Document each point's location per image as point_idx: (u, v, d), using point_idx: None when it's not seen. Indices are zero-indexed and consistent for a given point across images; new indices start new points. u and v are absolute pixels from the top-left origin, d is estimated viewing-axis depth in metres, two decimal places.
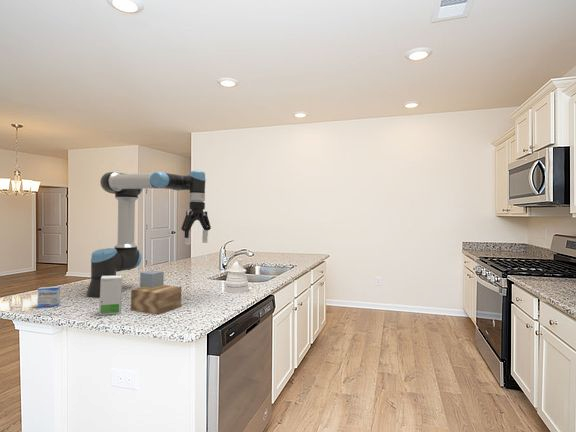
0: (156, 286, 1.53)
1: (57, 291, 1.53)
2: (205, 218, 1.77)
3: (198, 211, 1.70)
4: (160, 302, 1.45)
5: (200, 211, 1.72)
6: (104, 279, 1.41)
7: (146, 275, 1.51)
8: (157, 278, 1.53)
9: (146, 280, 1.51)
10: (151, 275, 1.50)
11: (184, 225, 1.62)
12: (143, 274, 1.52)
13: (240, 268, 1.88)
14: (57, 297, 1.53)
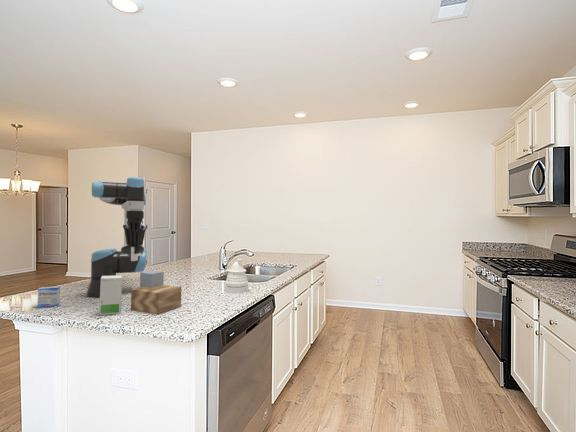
0: (156, 286, 1.53)
1: (57, 291, 1.53)
2: None
3: (132, 220, 1.58)
4: (160, 302, 1.45)
5: (135, 220, 1.57)
6: (104, 279, 1.42)
7: (146, 275, 1.51)
8: (157, 278, 1.53)
9: (146, 280, 1.51)
10: (151, 275, 1.50)
11: None
12: (143, 274, 1.52)
13: (240, 268, 1.88)
14: (57, 297, 1.53)
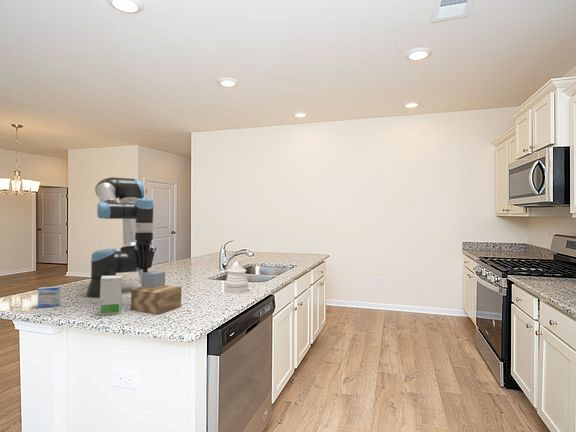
0: (158, 286, 1.52)
1: (57, 291, 1.53)
2: None
3: (141, 242, 1.56)
4: (160, 302, 1.45)
5: (144, 242, 1.55)
6: (104, 279, 1.41)
7: (148, 275, 1.51)
8: (159, 278, 1.53)
9: (148, 280, 1.51)
10: (153, 275, 1.50)
11: None
12: (145, 274, 1.52)
13: (240, 268, 1.88)
14: (57, 297, 1.53)
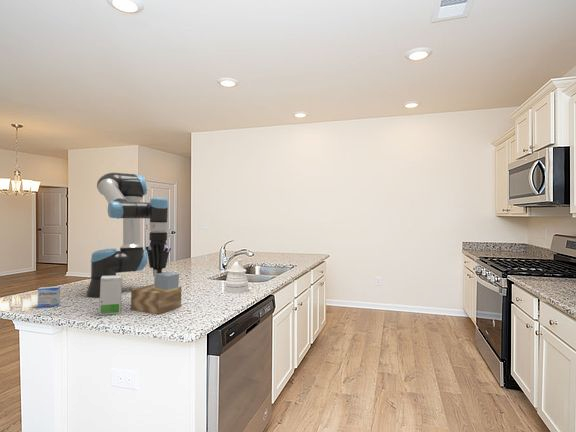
0: (171, 288, 1.49)
1: (57, 291, 1.53)
2: None
3: (155, 242, 1.52)
4: (160, 302, 1.45)
5: (158, 242, 1.52)
6: (104, 279, 1.41)
7: (162, 277, 1.48)
8: (172, 280, 1.49)
9: (161, 282, 1.48)
10: (167, 277, 1.47)
11: None
12: (158, 275, 1.48)
13: (240, 268, 1.88)
14: (57, 297, 1.53)
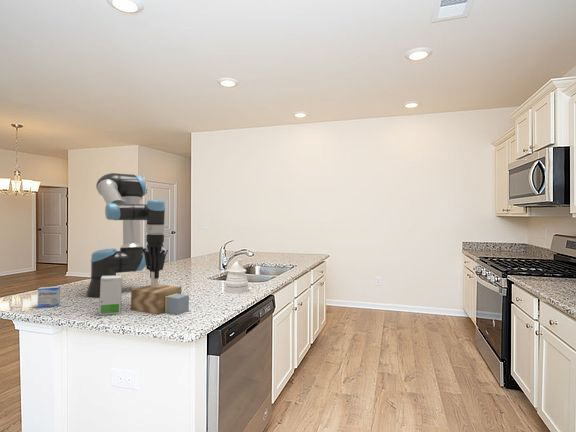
0: None
1: (57, 291, 1.53)
2: None
3: (152, 244, 1.53)
4: (160, 302, 1.45)
5: (155, 245, 1.53)
6: (104, 279, 1.41)
7: (176, 306, 1.44)
8: None
9: (172, 306, 1.45)
10: (176, 313, 1.44)
11: None
12: (176, 302, 1.44)
13: (240, 268, 1.88)
14: (57, 297, 1.53)
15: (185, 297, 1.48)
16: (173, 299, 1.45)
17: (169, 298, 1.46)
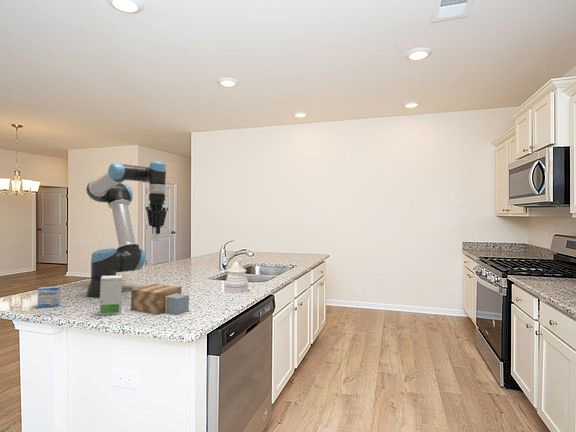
0: None
1: (57, 291, 1.53)
2: None
3: (154, 203, 1.68)
4: (160, 302, 1.45)
5: (157, 203, 1.67)
6: (104, 279, 1.41)
7: (176, 306, 1.44)
8: None
9: (172, 306, 1.45)
10: (176, 313, 1.44)
11: None
12: (176, 302, 1.44)
13: (240, 268, 1.88)
14: (57, 297, 1.53)
15: (185, 297, 1.48)
16: (173, 299, 1.45)
17: (169, 298, 1.46)
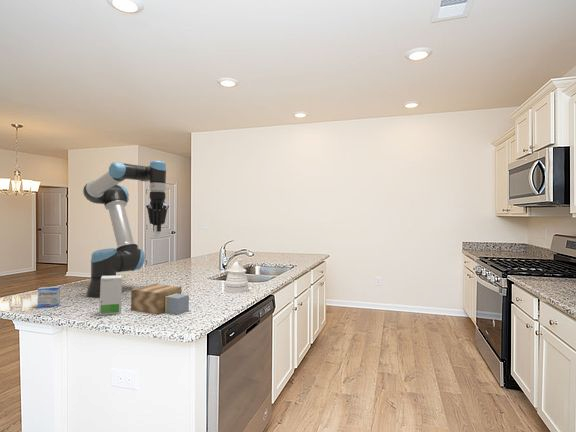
0: None
1: (57, 291, 1.53)
2: None
3: (155, 201, 1.71)
4: (160, 302, 1.45)
5: (157, 201, 1.70)
6: (104, 279, 1.42)
7: (176, 306, 1.44)
8: None
9: (172, 306, 1.45)
10: (176, 313, 1.44)
11: None
12: (176, 302, 1.44)
13: (240, 268, 1.88)
14: (57, 297, 1.53)
15: (185, 297, 1.48)
16: (173, 299, 1.45)
17: (169, 298, 1.46)
